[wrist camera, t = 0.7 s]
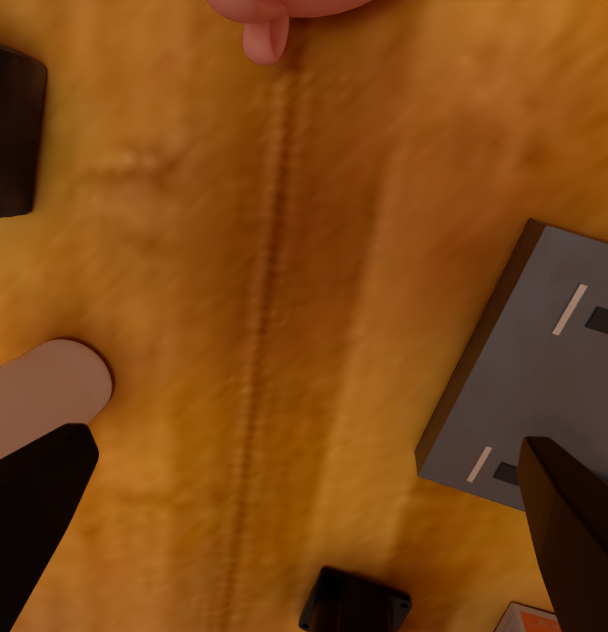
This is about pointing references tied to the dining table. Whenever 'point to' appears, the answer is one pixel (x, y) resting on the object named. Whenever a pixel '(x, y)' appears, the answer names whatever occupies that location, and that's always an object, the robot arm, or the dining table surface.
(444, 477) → the console
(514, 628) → the skincare box
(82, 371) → the drinking glass
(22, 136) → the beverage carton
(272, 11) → the pink teapot
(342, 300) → the dining table surface
